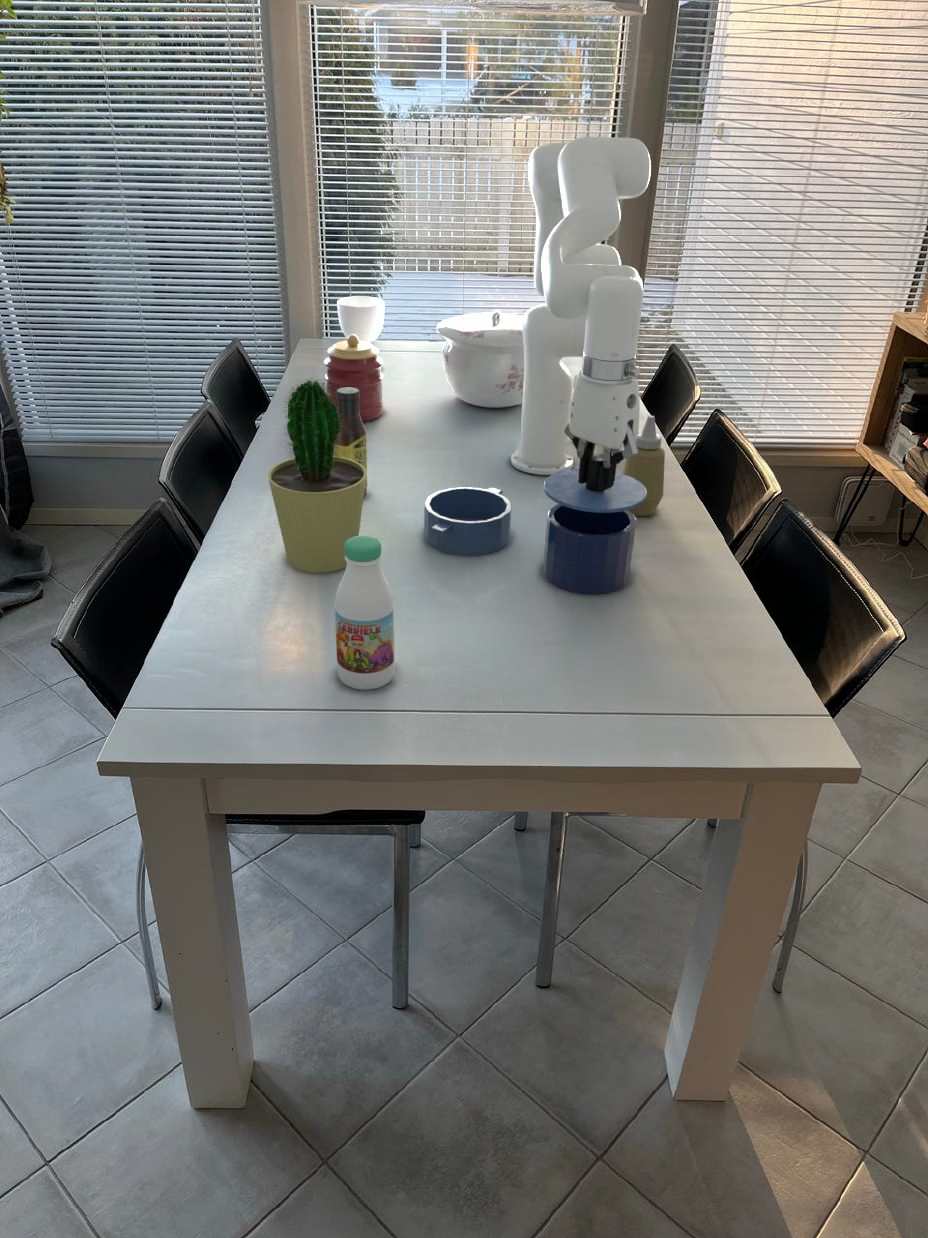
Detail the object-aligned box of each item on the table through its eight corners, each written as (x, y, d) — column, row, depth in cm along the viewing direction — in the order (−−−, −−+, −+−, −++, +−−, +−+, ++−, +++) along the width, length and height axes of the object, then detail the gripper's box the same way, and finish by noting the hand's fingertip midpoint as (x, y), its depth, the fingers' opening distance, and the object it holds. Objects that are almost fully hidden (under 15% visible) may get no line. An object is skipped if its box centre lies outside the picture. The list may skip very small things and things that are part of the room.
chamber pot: (462, 424, 215) (465, 330, 204) (417, 387, 236) (418, 300, 225) (572, 411, 225) (580, 320, 214) (520, 376, 246) (525, 293, 235)
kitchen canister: (394, 416, 218) (393, 338, 209) (343, 426, 212) (340, 345, 202) (366, 400, 227) (364, 324, 218) (316, 409, 221) (312, 331, 211)
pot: (565, 546, 165) (570, 492, 160) (641, 567, 159) (649, 512, 154) (528, 579, 155) (532, 522, 149) (608, 603, 149) (615, 545, 144)
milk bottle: (338, 659, 133) (332, 528, 123) (394, 658, 134) (393, 528, 123) (336, 692, 127) (330, 557, 116) (395, 690, 127) (394, 556, 117)
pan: (399, 547, 163) (399, 514, 160) (460, 506, 178) (461, 475, 175) (474, 569, 157) (476, 536, 154) (530, 525, 172) (533, 494, 168)
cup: (339, 362, 252) (337, 295, 243) (384, 362, 253) (383, 295, 244) (339, 376, 242) (336, 306, 233) (386, 376, 243) (385, 307, 234)
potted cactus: (372, 576, 154) (368, 392, 138) (274, 581, 151) (259, 395, 136) (365, 533, 167) (360, 361, 151) (274, 538, 164) (260, 363, 149)
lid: (525, 500, 147) (528, 462, 144) (569, 467, 159) (573, 431, 155) (622, 525, 140) (627, 485, 137) (660, 489, 152) (666, 452, 149)
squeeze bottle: (663, 505, 181) (677, 412, 171) (656, 522, 174) (670, 427, 165) (621, 498, 183) (632, 406, 173) (612, 515, 176) (624, 420, 167)
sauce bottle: (362, 503, 178) (359, 397, 167) (329, 499, 179) (324, 394, 168) (372, 489, 183) (369, 386, 173) (340, 485, 184) (336, 383, 174)
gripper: (670, 375, 137) (653, 494, 146) (580, 350, 146) (570, 463, 156) (638, 385, 132) (623, 508, 141) (548, 358, 142) (539, 475, 151)
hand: (595, 483), depth 149 cm, fingers closed on lid, 3 cm apart
